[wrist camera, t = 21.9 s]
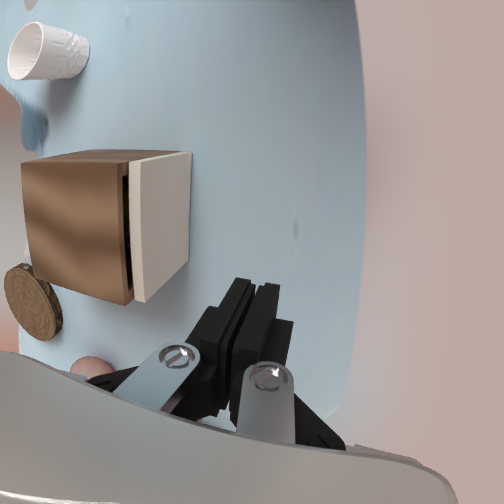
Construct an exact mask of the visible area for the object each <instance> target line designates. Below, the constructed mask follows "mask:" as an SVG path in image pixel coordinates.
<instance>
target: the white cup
mask: <svg viewBox="0 0 504 504" xmlns="http://www.w3.org/2000/svg"><path fill="white" fill-rule="evenodd" d="M89 50H90V46H89V44H88V41H87V39H85V38H84V37H82V36H79V35H76V34H73V33H72V32H69V31H66V30H63V29H60V28H57V27H53V26H49V25H46V24H42V23H38V22H30V23H28V24H27V25H25V26H24V27H23V28H22V29H21V30H20V31H19V32H18V34H17V35H16V37H15V38H14V40H13V42H12V44H11V47H10V50H9V54H8V60H7V67H8V72H9V75H10V77H11V78H12V79H14V80H44V79H58V78H73V77H75V76H76V75H78V74H79V73H80V72H81V71H82V70H83V68H84V67H85V65H86V63H87V60H88V58H89Z"/></svg>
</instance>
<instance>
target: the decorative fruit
mask: <svg viewBox="0 0 504 504" xmlns="http://www.w3.org/2000/svg"><path fill="white" fill-rule="evenodd" d="M111 372H114V370H113V368H112V367H111V366H110V365H109V364H108V363H107V362H105V361H103V360H101V359H99V358H96V357H91V356H86V357H83V358H80V359H79V360H77V361H76V362H75V363H74V364H73V365H72V367H71V369H70V373H75V374H80V375H84V376H87V379H88V380H89V379H90V378H92V377H95V376H98V375H102V374H107V373H111Z"/></svg>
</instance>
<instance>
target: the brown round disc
mask: <svg viewBox="0 0 504 504" xmlns="http://www.w3.org/2000/svg"><path fill="white" fill-rule="evenodd" d="M4 289H5V293H6V298H7V301H8V304H9V306H10V309H11V311H12V312H13V314H14V316H15V318H16V319H17V321H18V322H19V323H20V325H21V326H22V327H23V328H24V329H25V330H26V331H27V332H28V333H29V334H30V335H31V336H33V337H34V338H36V339H38V340H41V341H48V340H50V339H52V338H53V337H54V336H55V335H56V334H57V333H58V332H59V331H60V330H61V329H62V324H63V316H62V309H61V306H60V303H59V300H58V298H57V296H56V294H55V292H54V290H53V288H52V286H51V285H50V283H49V282H46V281H43V280H40V279H37V278H34V273H33V268H32V266H31V265H29V264H24V263H21V264H19V265H17V266H16V267H14V268H12V269H10V270H9V271H8V272H7V273H6V276H5V280H4Z"/></svg>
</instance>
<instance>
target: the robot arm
mask: <svg viewBox="0 0 504 504" xmlns="http://www.w3.org/2000/svg"><path fill="white" fill-rule="evenodd" d="M255 288H256V285H255V284H251V280H248V279H242V278H235V280H234V282H233V283H232V285H231V287H230V288H229V290H228V292H227V293H226V295H225V297H224V298H223V300H222V302H221V304H220V305H219V307H213V306H208V308H207V309H206V310H205V312H204V313H203V315H202V317H201V318H200V320H199V321H198V323H197V324H196V326H195V327H194V329H193V330H192V332H191V334H190V335H189V337H188V338H187V340H186V341H185V343H184V342H171V343H167V344H164V345H162V346H160V347H159V348H158V349H157V350H156V351H155V352H154V353H153V354H152V355H150V356H149V357H148V358H147V359H146V360H145V361H144V362H143V363H142V364H141V365H140V366H136V367H132V368H128V369H124V370H120V371H115V372H111V373H107V374H102V375H98V376H95V377H92V378H90V379H89V380H88V379H87V376H84V375H80V374H75V373H70V372H66V371H62V370H58V369H56V368H54V367H52V366H49V365H47V364H45V363H42V362H40V361H38V360H36V359H33V358H30V357H28V356H25V355H21V354H18V353H14V352H6V351H0V504H458V501H457V498H456V495H455V492H454V490H453V488H452V486H451V484H450V483H449V482H448V481H447V479H446V478H444V477H443V476H442V475H441V474H439V473H438V472H436V471H434V470H432V469H430V468H428V467H425V466H422V464H421V463H419V462H418V461H417V460H415V459H413V458H410V457H405V456H401V455H396V454H392V453H388V452H384V451H380V450H376V449H372V448H368V447H365V446H361V445H357V444H355V445H354V447H352V446H348V445H345V444H344V442H343V440H342V439H341V438H340V437H339V436H338V435H337V434H336V433H335V432H334V431H333V430H332V429H331V428H330V427H329V426H328V425H327V424H325V423H324V422H323V421H322V420H321V419H320V418H319V417H318V416H317V415H316V414H315V413H314V412H313V411H312V410H311V409H310V408H309V407H308V406H307V405H306V404H305V403H304V402H303V401H302V400H301V399H300V398H299V397H298V396H297V395H296V394H295V393H294V384H293V376H292V374H291V372H290V371H289V370H288V369H287V368H286V367H285V364H286V359H287V354H288V349H289V344H290V339H291V333H292V328H293V321H287V320H281V319H276V313H277V306H278V299H279V291H280V285H277V284H271V283H265V285H264V286H261V285H259V287H258V290H257V292H256V294H255ZM229 399H230V402H229ZM228 402H229V411H230V420H231V422H232V423H233V424H234V426H235V427H236V428H237V429H236V432H233V431H229V430H225V429H221V428H217V427H213V426H209V425H205V424H202V418H204V417H207V416H214V417H217V415H218V413H219V410H220V409H222V410H225V409H226V407H227V404H228Z"/></svg>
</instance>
